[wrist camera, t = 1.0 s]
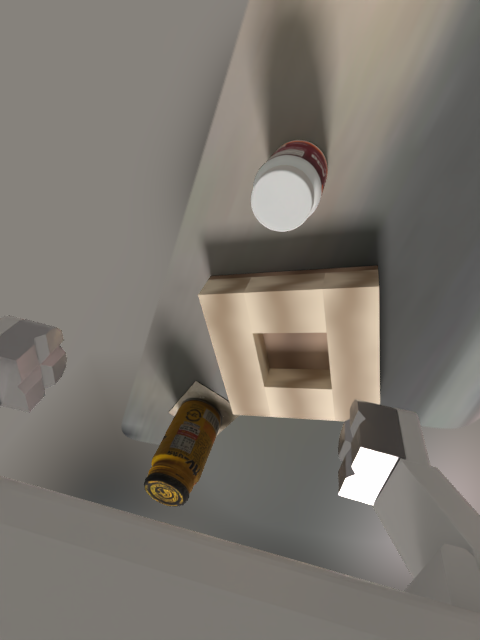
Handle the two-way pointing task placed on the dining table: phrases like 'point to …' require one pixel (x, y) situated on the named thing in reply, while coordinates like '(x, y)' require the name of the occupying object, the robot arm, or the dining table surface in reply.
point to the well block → (296, 340)
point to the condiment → (187, 444)
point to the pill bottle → (289, 186)
